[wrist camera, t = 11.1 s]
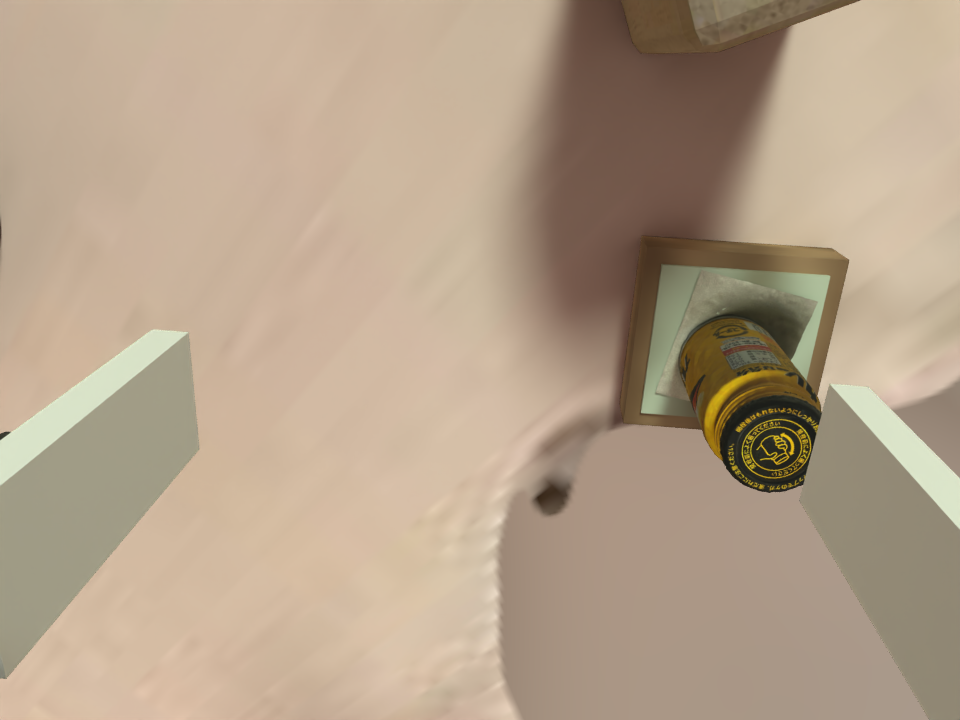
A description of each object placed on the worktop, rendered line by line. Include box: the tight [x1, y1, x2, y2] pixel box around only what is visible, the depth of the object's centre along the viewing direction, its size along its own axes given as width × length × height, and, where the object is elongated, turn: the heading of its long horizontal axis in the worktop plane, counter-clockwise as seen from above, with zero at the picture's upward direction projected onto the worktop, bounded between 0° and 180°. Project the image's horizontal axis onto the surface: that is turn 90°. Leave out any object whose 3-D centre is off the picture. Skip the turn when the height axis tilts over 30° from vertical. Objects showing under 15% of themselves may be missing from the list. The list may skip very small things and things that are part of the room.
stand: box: [620, 236, 849, 430], centre depth 49 cm, size 12×12×3 cm
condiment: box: [656, 270, 822, 493], centre depth 42 cm, size 7×8×12 cm
